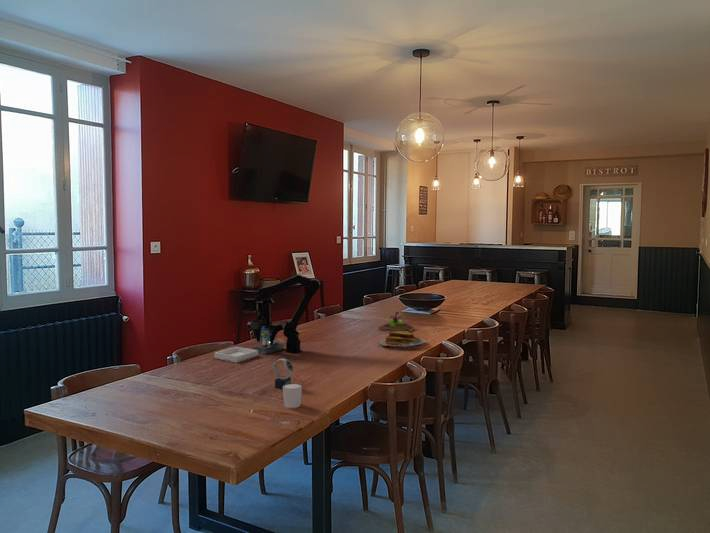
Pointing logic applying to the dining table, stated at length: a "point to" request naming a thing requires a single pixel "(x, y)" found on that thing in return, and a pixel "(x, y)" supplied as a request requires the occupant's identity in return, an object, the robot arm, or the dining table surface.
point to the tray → (236, 354)
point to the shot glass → (292, 395)
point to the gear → (265, 331)
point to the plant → (395, 325)
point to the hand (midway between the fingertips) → (264, 342)
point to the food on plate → (401, 339)
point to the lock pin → (264, 338)
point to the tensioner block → (269, 347)
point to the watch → (281, 379)
